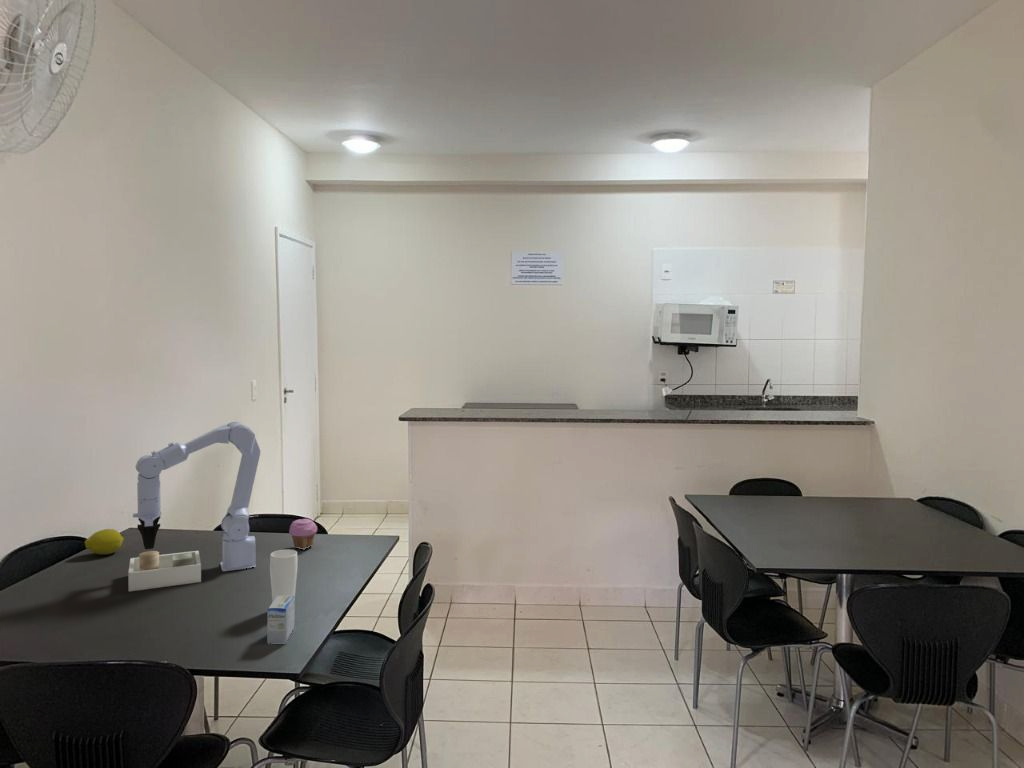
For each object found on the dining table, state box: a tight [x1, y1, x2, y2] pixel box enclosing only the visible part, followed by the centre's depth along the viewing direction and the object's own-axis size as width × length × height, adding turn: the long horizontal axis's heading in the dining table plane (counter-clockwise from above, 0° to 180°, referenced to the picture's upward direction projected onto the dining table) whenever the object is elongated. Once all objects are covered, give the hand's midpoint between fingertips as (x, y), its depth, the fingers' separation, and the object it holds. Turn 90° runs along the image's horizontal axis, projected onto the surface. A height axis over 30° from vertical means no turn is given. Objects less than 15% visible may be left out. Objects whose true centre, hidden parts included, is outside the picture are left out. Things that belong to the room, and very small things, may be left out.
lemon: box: [84, 528, 125, 556], centre depth 211 cm, size 11×8×8 cm
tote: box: [127, 550, 202, 592], centre depth 192 cm, size 18×14×5 cm
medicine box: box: [266, 595, 296, 644], centre depth 156 cm, size 8×4×9 cm, turn 5°
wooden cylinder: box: [138, 550, 160, 571], centre depth 190 cm, size 5×5×7 cm
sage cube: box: [173, 553, 192, 567], centre depth 194 cm, size 5×5×5 cm
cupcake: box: [288, 518, 318, 548], centre depth 222 cm, size 9×9×10 cm
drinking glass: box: [269, 549, 299, 602], centre depth 171 cm, size 7×7×15 cm
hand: (149, 544), depth 189 cm, fingers open, 7 cm apart
